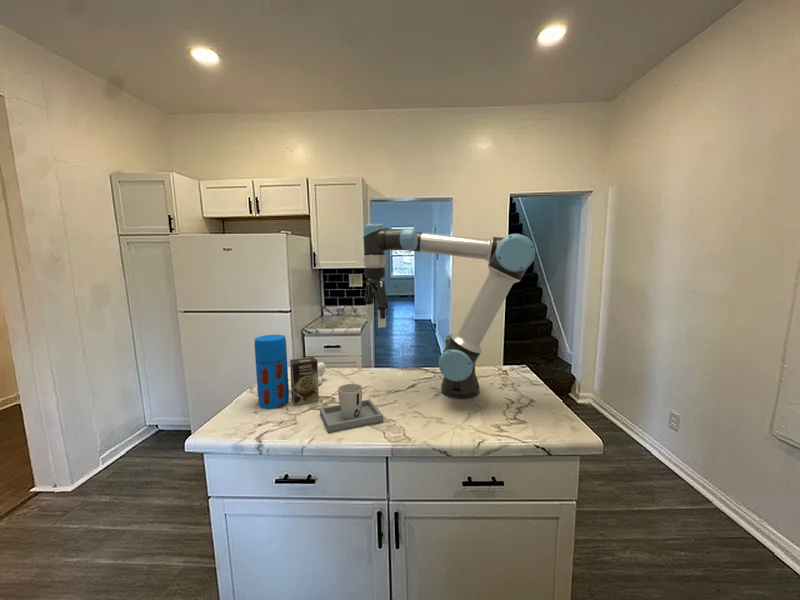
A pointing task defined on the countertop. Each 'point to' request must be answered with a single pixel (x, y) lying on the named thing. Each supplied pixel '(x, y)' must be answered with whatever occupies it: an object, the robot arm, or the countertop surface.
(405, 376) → the countertop surface
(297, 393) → the coffee box
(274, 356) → the thermos
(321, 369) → the white decorative knot
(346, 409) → the cup
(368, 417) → the tray
